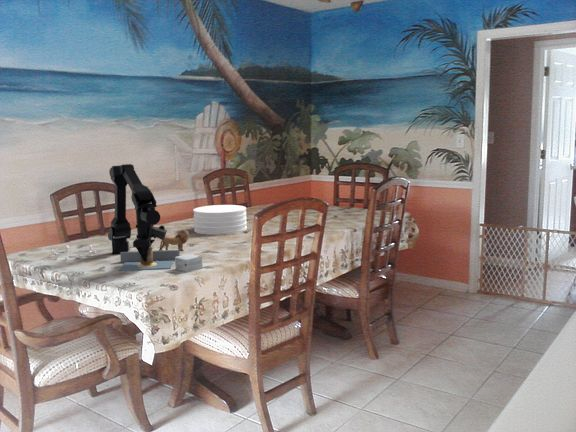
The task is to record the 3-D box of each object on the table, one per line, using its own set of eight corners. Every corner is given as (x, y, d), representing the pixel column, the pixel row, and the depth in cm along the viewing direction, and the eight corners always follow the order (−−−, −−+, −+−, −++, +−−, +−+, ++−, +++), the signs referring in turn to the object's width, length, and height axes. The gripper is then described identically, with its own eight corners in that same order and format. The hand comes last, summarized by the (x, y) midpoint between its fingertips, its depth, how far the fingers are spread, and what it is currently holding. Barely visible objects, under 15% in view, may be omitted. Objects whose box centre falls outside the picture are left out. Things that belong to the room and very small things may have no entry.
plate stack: (244, 234, 284) (243, 212, 282) (189, 235, 284) (188, 213, 283) (249, 224, 311) (248, 204, 309) (199, 225, 312) (198, 205, 310)
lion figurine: (187, 247, 255) (186, 228, 253) (191, 249, 250) (190, 230, 249) (156, 252, 248) (154, 232, 246) (159, 254, 243) (158, 234, 242)
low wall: (120, 262, 230) (120, 252, 230) (121, 261, 231) (120, 252, 231) (179, 259, 232) (178, 250, 232) (179, 259, 233) (179, 249, 233)
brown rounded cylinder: (139, 264, 220) (138, 249, 219) (141, 261, 225) (140, 247, 224) (152, 264, 221) (151, 249, 220) (154, 260, 225) (153, 246, 224)
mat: (118, 271, 216) (118, 269, 216) (124, 263, 228) (124, 262, 228) (170, 268, 218) (170, 267, 218) (173, 261, 230) (173, 259, 230)
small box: (175, 269, 218) (174, 256, 217) (191, 265, 223) (190, 253, 222) (186, 272, 212) (186, 259, 211) (203, 268, 218) (202, 255, 217)
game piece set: (50, 253, 251) (49, 245, 251) (96, 249, 258) (96, 241, 258) (48, 263, 233) (47, 254, 233) (98, 258, 240) (97, 249, 240)
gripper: (161, 224, 211) (163, 264, 214) (167, 216, 230) (169, 253, 232) (131, 226, 211) (134, 266, 213) (140, 217, 229) (142, 254, 232)
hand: (146, 259), depth 223 cm, fingers closed on brown rounded cylinder, 5 cm apart
